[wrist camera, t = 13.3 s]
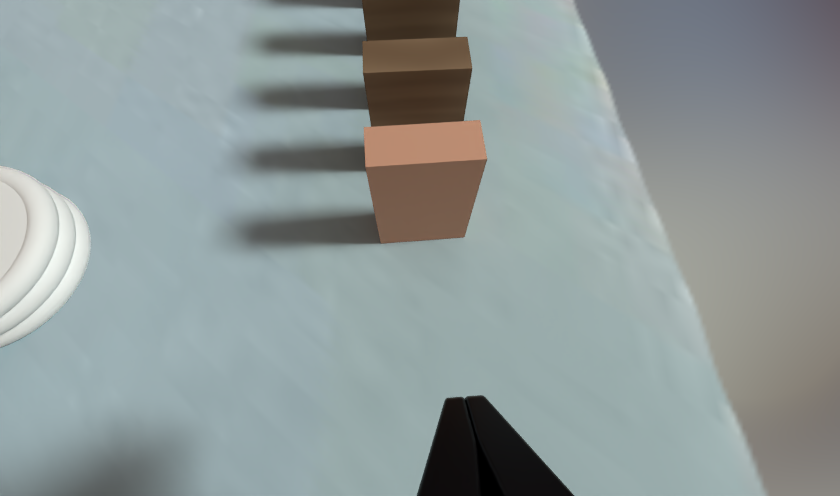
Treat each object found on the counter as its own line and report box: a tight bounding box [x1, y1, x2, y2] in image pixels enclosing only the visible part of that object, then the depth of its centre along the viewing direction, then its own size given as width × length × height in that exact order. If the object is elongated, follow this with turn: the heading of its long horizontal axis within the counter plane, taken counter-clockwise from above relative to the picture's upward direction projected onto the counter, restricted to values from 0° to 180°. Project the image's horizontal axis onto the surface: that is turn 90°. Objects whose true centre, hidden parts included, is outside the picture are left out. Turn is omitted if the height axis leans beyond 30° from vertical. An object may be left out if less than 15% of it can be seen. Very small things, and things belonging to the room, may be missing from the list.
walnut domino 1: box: [362, 0, 460, 41], centre depth 24 cm, size 2×5×8 cm, turn 94°
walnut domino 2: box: [362, 37, 472, 127], centre depth 22 cm, size 2×5×8 cm, turn 94°
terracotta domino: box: [364, 120, 487, 243], centre depth 20 cm, size 2×5×8 cm, turn 95°
